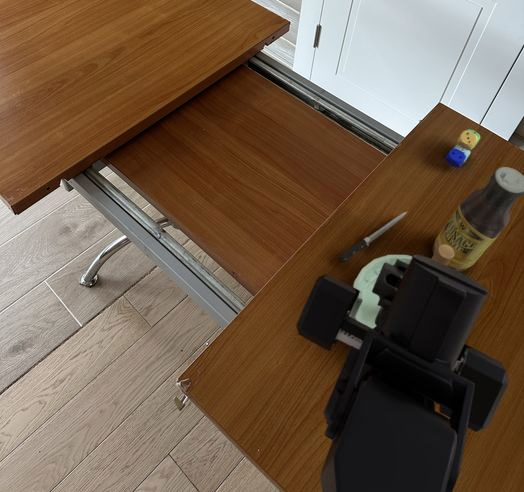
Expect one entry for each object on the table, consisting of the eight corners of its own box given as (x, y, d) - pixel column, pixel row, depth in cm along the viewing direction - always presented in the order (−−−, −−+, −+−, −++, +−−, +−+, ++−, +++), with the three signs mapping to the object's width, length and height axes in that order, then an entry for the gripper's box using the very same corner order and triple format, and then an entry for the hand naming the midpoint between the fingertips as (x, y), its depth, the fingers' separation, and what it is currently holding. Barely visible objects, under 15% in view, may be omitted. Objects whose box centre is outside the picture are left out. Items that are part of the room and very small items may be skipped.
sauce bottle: (422, 246, 79) (471, 164, 64) (454, 232, 81) (508, 150, 66) (449, 282, 75) (507, 204, 60) (482, 267, 77) (545, 188, 63)
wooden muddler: (411, 330, 69) (459, 265, 56) (387, 317, 70) (428, 249, 57) (416, 320, 70) (464, 253, 57) (391, 306, 71) (433, 237, 58)
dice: (454, 175, 89) (468, 151, 84) (440, 167, 90) (453, 142, 85) (473, 150, 94) (487, 125, 89) (460, 142, 95) (473, 118, 90)
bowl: (478, 332, 71) (491, 318, 67) (405, 404, 64) (416, 392, 60) (396, 251, 78) (404, 236, 75) (322, 308, 71) (328, 293, 68)
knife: (403, 215, 83) (407, 208, 81) (406, 218, 82) (410, 211, 81) (337, 262, 76) (339, 256, 75) (340, 266, 76) (342, 259, 74)
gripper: (556, 348, 39) (515, 297, 54) (329, 237, 44) (349, 219, 59) (494, 477, 39) (470, 391, 54) (277, 354, 44) (310, 307, 59)
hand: (398, 322), depth 57 cm, fingers open, 9 cm apart
